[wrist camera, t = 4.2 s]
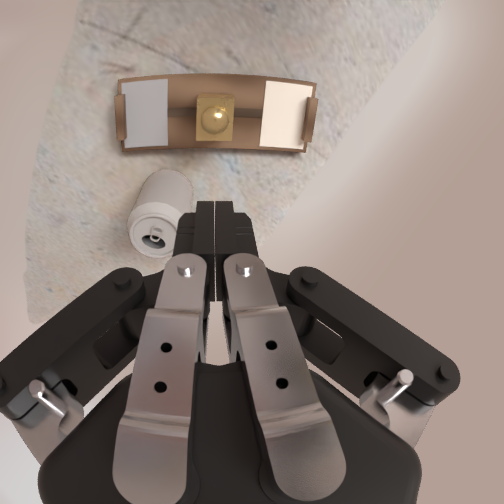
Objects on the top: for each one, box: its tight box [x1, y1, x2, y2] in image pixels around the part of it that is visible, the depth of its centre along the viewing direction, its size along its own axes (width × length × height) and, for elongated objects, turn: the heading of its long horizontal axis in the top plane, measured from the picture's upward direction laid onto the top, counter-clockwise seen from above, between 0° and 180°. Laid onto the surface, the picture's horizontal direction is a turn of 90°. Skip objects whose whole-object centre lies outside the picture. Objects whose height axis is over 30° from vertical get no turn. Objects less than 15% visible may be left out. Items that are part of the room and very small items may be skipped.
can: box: [127, 169, 193, 259], centre depth 35 cm, size 8×8×12 cm
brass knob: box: [196, 93, 235, 141], centre depth 29 cm, size 5×4×6 cm
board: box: [115, 74, 318, 153], centre depth 32 cm, size 10×25×3 cm, turn 85°
